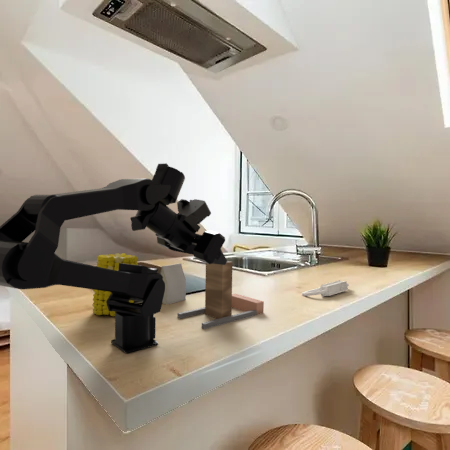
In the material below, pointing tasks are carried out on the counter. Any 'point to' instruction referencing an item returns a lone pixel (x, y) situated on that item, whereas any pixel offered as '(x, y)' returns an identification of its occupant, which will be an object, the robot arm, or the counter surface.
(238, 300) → the twin grey rails
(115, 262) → the food
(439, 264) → the counter surface
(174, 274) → the tea bag
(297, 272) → the counter surface
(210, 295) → the brown wooden tall block
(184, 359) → the counter surface
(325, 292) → the oval loop handle
